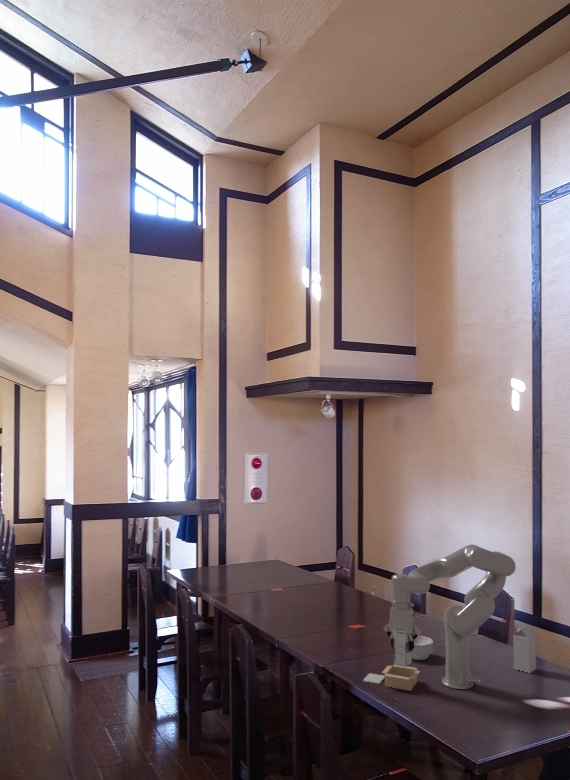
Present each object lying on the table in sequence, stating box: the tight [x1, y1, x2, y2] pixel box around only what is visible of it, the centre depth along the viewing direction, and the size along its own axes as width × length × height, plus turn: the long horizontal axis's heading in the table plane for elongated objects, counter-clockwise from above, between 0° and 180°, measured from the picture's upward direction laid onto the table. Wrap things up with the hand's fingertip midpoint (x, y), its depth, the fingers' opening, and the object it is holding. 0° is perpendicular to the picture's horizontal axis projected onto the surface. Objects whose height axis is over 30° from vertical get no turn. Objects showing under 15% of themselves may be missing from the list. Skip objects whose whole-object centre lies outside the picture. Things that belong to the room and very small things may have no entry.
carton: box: [381, 664, 421, 692], centre depth 262 cm, size 14×15×5 cm
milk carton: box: [512, 624, 537, 674], centre depth 282 cm, size 7×7×19 cm
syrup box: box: [392, 629, 413, 667], centre depth 263 cm, size 6×6×14 cm
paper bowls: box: [412, 634, 435, 661], centre depth 297 cm, size 15×15×8 cm
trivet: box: [362, 672, 385, 685], centre depth 267 cm, size 7×9×1 cm
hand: (402, 648), depth 263 cm, fingers closed on syrup box, 6 cm apart
